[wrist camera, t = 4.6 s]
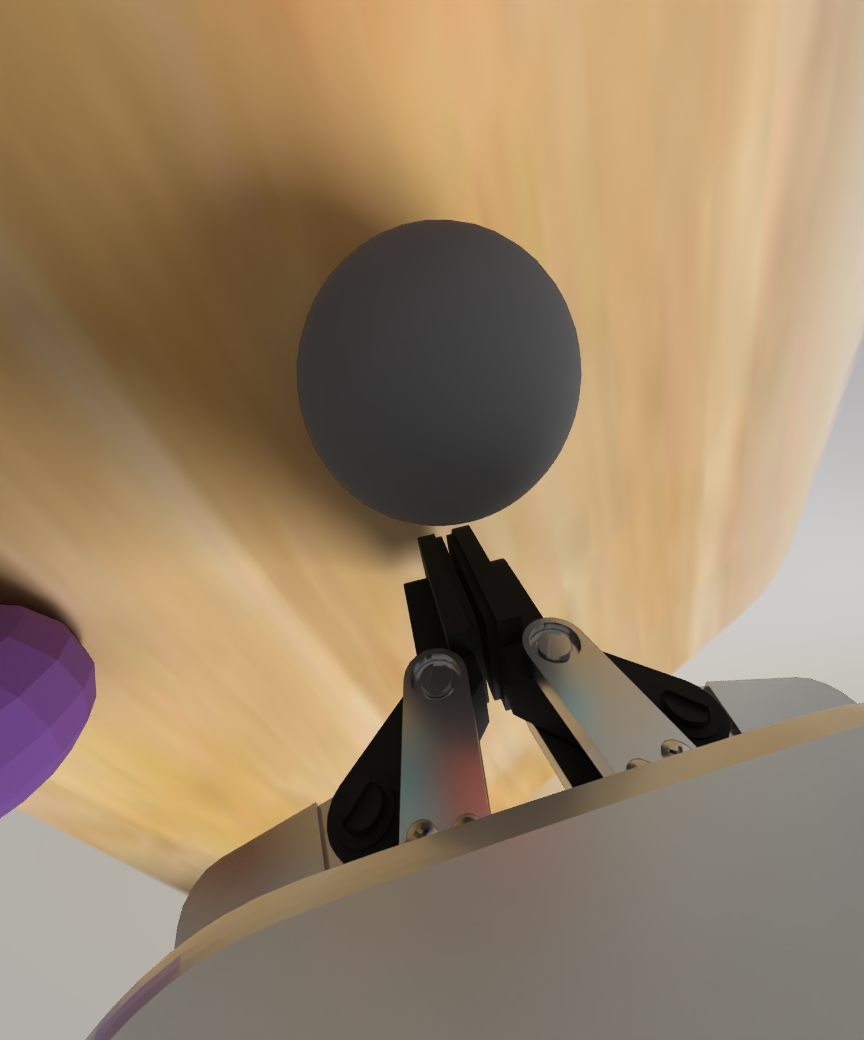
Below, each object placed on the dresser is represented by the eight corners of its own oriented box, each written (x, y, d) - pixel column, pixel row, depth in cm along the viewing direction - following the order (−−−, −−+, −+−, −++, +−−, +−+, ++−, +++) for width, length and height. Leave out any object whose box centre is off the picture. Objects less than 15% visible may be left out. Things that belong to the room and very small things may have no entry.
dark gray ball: (743, 222, 4) (522, 191, 7) (197, 295, 3) (257, 220, 7) (592, 544, 8) (499, 420, 11) (350, 606, 7) (334, 452, 11)
